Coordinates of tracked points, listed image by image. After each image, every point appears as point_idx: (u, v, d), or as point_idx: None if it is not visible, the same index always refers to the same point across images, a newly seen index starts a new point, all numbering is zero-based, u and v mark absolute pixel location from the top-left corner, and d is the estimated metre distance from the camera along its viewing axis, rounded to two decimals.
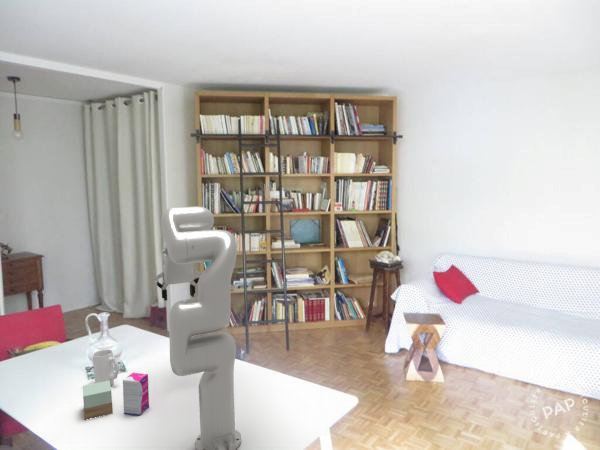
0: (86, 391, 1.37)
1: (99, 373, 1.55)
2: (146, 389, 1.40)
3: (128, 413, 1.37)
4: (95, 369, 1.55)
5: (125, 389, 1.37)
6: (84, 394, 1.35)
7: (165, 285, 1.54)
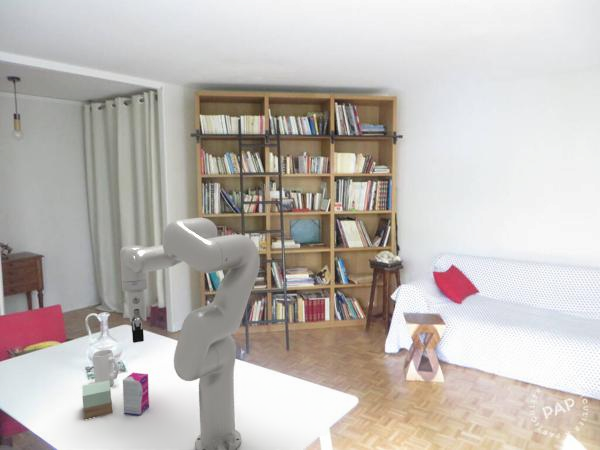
0: (86, 390, 1.38)
1: (99, 373, 1.55)
2: (146, 389, 1.40)
3: (128, 413, 1.37)
4: (95, 369, 1.55)
5: (125, 389, 1.37)
6: (83, 394, 1.35)
7: None
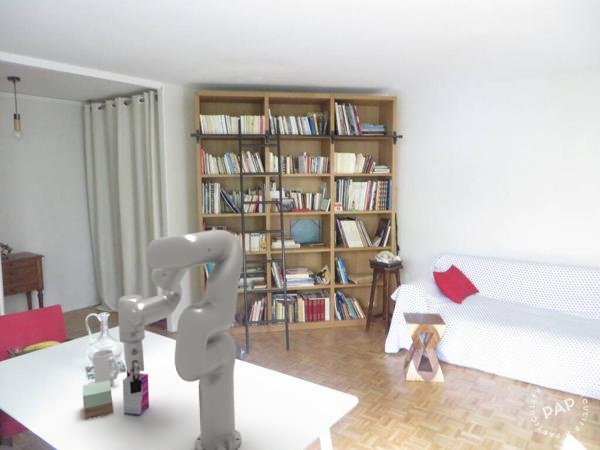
0: (86, 391, 1.37)
1: (99, 373, 1.55)
2: (146, 389, 1.40)
3: (128, 413, 1.37)
4: (95, 369, 1.55)
5: (125, 389, 1.37)
6: (84, 394, 1.35)
7: None
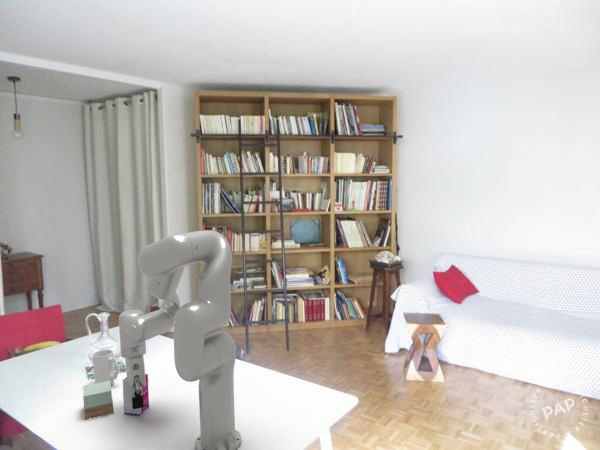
0: (86, 391, 1.37)
1: (99, 373, 1.55)
2: (146, 388, 1.40)
3: (128, 413, 1.37)
4: (95, 369, 1.55)
5: (125, 389, 1.37)
6: (84, 394, 1.35)
7: (141, 389, 1.36)
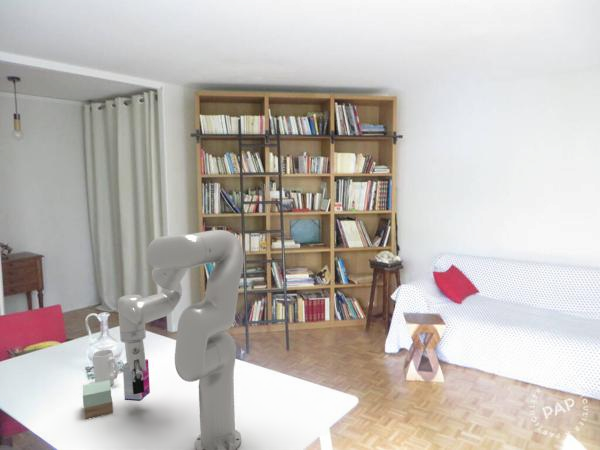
0: (86, 390, 1.38)
1: (99, 373, 1.55)
2: (146, 374, 1.39)
3: (129, 399, 1.36)
4: (95, 369, 1.55)
5: (125, 374, 1.36)
6: (84, 393, 1.36)
7: None
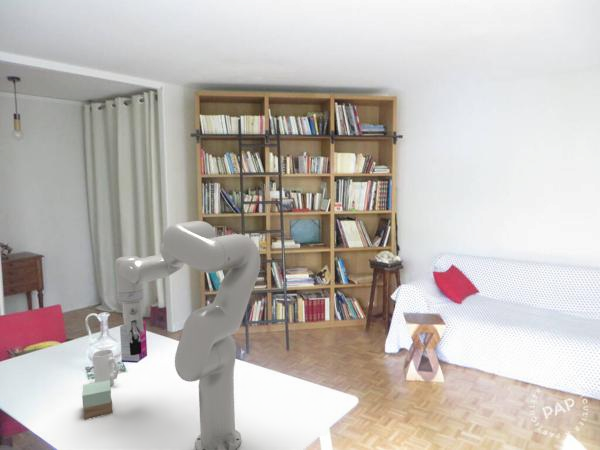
0: (86, 390, 1.38)
1: (99, 373, 1.55)
2: (143, 336, 1.38)
3: (126, 360, 1.35)
4: (95, 369, 1.55)
5: (122, 336, 1.35)
6: (83, 393, 1.36)
7: (139, 335, 1.34)
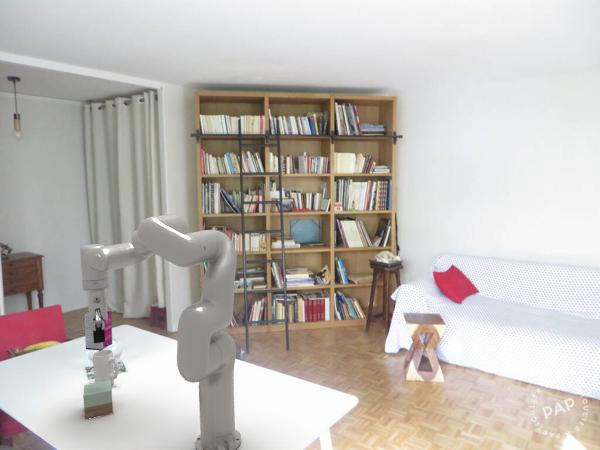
0: (87, 390, 1.38)
1: (99, 373, 1.55)
2: (109, 324, 1.38)
3: (90, 348, 1.35)
4: (95, 369, 1.55)
5: (87, 323, 1.35)
6: (84, 393, 1.36)
7: None
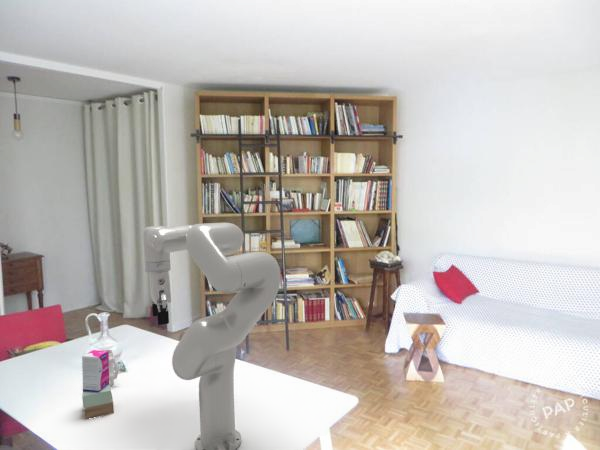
0: None
1: None
2: (106, 365, 1.40)
3: (87, 390, 1.37)
4: None
5: (84, 365, 1.36)
6: (83, 394, 1.35)
7: None
